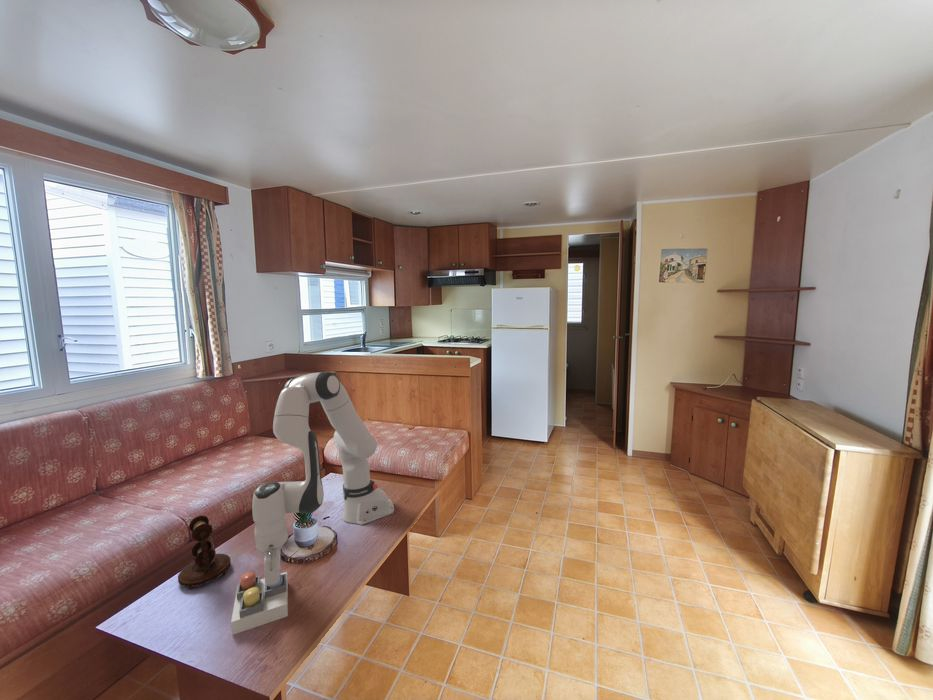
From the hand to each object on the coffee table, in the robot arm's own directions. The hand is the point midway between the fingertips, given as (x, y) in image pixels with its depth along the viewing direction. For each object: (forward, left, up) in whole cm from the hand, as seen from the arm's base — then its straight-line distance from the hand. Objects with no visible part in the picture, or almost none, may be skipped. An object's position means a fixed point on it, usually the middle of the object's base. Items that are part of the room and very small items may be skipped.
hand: (274, 578), depth 114 cm
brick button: (+7, -3, -2) cm, 8 cm away
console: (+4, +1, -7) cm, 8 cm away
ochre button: (+6, +5, -2) cm, 8 cm away
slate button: (0, 0, -3) cm, 3 cm away
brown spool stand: (+22, -24, -8) cm, 34 cm away
